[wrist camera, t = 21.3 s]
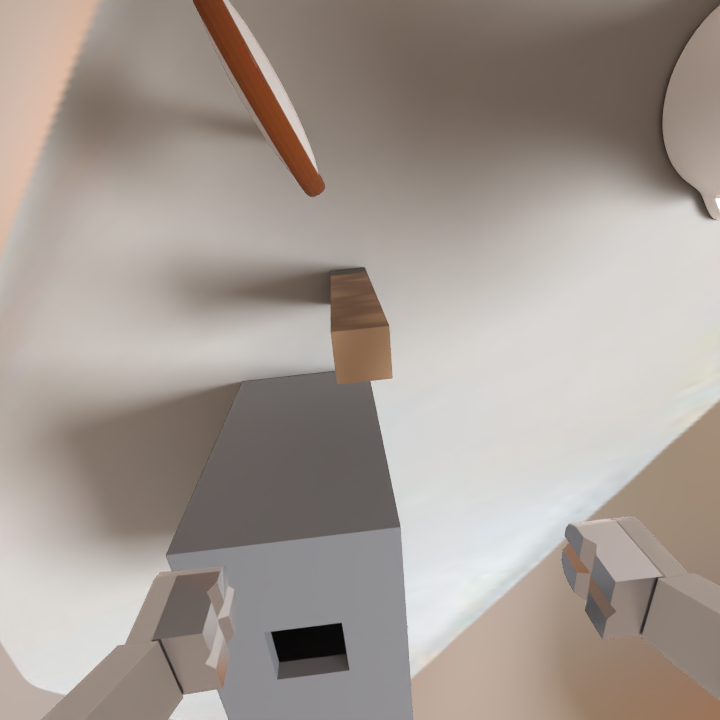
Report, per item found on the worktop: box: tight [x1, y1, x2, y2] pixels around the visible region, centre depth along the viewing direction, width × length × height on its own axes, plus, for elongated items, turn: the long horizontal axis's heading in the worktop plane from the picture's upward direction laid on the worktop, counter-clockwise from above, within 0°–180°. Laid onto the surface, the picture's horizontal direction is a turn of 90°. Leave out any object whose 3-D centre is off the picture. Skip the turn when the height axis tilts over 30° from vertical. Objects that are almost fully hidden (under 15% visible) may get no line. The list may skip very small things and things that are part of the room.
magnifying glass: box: [193, 0, 325, 197], centre depth 22 cm, size 9×2×20 cm, turn 29°
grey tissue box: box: [166, 371, 413, 720], centre depth 34 cm, size 12×18×20 cm, turn 5°
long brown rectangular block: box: [330, 268, 392, 384], centre depth 29 cm, size 3×3×16 cm
